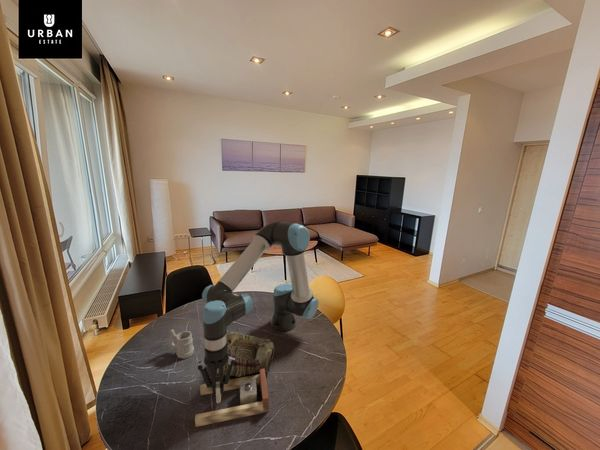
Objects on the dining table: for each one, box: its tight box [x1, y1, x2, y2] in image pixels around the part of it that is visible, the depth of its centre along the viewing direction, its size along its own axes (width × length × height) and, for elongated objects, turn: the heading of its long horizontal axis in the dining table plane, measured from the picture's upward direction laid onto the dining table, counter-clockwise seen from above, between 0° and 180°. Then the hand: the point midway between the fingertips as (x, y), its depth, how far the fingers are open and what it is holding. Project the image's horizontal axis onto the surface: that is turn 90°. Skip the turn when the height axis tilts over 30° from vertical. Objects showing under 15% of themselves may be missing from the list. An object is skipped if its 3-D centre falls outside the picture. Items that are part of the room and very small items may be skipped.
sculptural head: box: [216, 331, 275, 378], centre depth 108 cm, size 17×21×25 cm
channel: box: [194, 368, 270, 428], centre depth 93 cm, size 25×14×6 cm, turn 104°
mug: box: [168, 329, 195, 360], centre depth 116 cm, size 8×12×12 cm, turn 83°
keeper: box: [239, 379, 258, 406], centre depth 94 cm, size 6×7×6 cm
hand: (218, 399), depth 91 cm, fingers closed
